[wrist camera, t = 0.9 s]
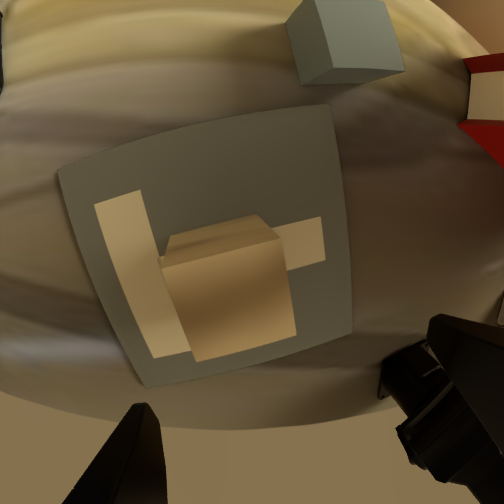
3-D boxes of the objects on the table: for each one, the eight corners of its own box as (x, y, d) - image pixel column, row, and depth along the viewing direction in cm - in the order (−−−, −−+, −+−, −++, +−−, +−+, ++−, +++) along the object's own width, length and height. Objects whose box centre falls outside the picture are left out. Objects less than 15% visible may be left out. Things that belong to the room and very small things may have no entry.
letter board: (349, 328, 24) (352, 332, 23) (146, 383, 22) (145, 388, 21) (325, 104, 17) (329, 103, 17) (60, 168, 15) (56, 169, 15)
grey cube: (362, 83, 17) (405, 71, 13) (300, 85, 17) (333, 67, 12) (347, 25, 15) (384, 1, 11) (284, 23, 15) (311, -9, 10)
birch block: (271, 290, 20) (296, 335, 15) (193, 310, 19) (196, 362, 14) (256, 213, 18) (281, 238, 13) (170, 235, 18) (161, 268, 12)
